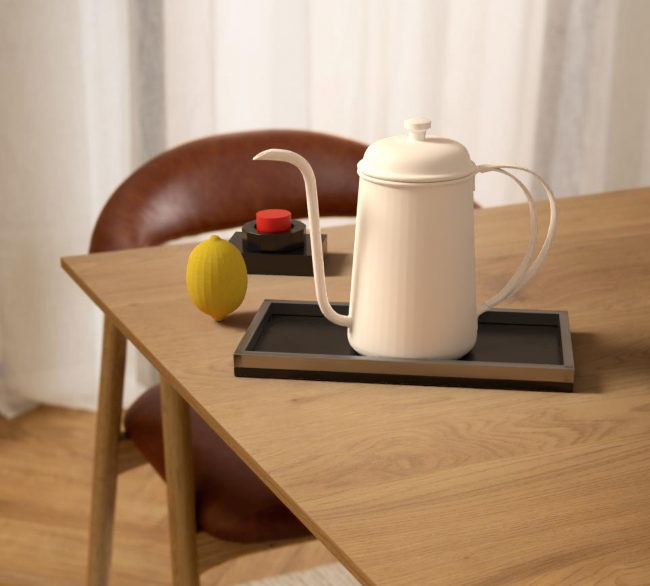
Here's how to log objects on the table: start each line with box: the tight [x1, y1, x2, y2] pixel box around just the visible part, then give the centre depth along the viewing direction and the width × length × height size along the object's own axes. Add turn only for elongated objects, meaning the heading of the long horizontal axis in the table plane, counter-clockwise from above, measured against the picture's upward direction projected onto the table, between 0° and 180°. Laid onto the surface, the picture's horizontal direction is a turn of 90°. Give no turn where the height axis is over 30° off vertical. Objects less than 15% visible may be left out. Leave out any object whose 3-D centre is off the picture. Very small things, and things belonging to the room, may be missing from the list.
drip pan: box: [232, 298, 576, 393], centre depth 101 cm, size 27×14×2 cm, turn 82°
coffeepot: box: [252, 117, 559, 360], centre depth 96 cm, size 11×25×19 cm, turn 102°
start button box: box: [228, 218, 328, 278], centre depth 123 cm, size 10×8×4 cm
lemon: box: [185, 234, 249, 322], centre depth 107 cm, size 6×6×8 cm
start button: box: [255, 208, 292, 232], centre depth 122 cm, size 4×4×2 cm
